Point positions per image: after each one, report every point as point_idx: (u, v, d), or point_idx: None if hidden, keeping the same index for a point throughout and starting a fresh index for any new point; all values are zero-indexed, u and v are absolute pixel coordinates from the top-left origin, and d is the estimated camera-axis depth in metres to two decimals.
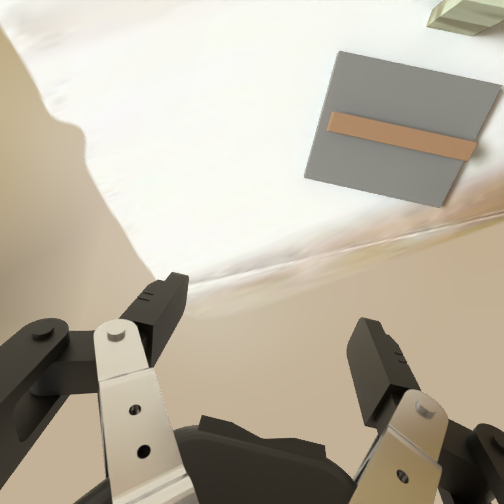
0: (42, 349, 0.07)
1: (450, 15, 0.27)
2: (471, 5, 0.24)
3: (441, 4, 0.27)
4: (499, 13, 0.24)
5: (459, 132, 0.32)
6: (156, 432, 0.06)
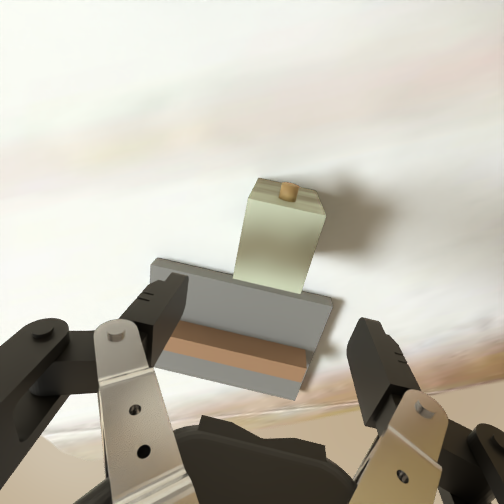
0: (42, 349, 0.07)
1: None
2: None
3: None
4: None
5: (297, 341, 0.29)
6: (156, 432, 0.06)
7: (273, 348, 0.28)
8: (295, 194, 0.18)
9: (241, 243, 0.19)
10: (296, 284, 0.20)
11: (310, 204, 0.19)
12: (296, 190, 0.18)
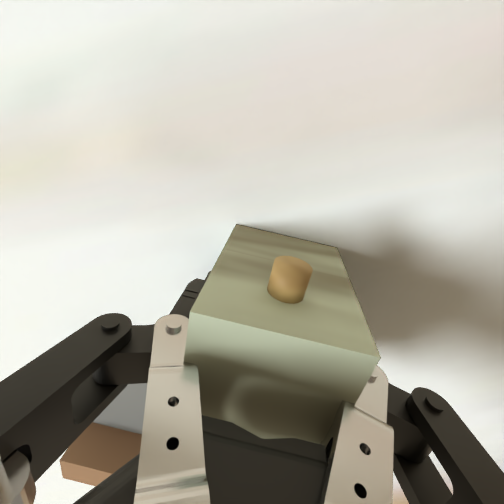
0: (113, 341, 0.08)
1: None
2: None
3: None
4: None
5: None
6: (187, 428, 0.06)
7: None
8: (303, 288, 0.08)
9: None
10: None
11: (335, 305, 0.09)
12: (306, 280, 0.08)
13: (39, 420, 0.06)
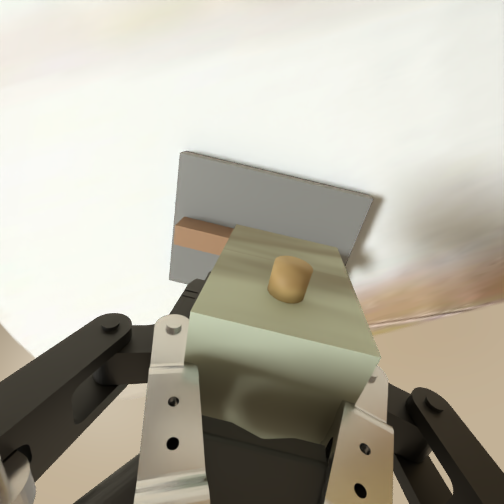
0: (113, 341, 0.08)
1: None
2: None
3: None
4: None
5: (332, 244, 0.27)
6: (187, 428, 0.06)
7: None
8: (304, 288, 0.08)
9: None
10: None
11: (336, 304, 0.09)
12: (306, 280, 0.08)
13: (39, 420, 0.06)
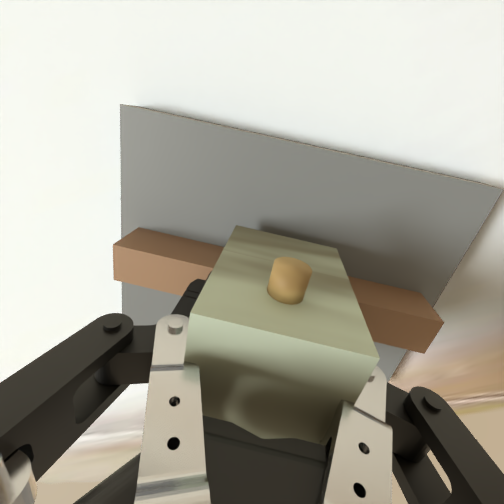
0: (115, 341, 0.08)
1: None
2: None
3: None
4: None
5: (408, 276, 0.15)
6: (188, 428, 0.06)
7: (363, 287, 0.14)
8: (303, 289, 0.08)
9: None
10: None
11: (335, 305, 0.09)
12: (305, 281, 0.08)
13: (41, 419, 0.06)
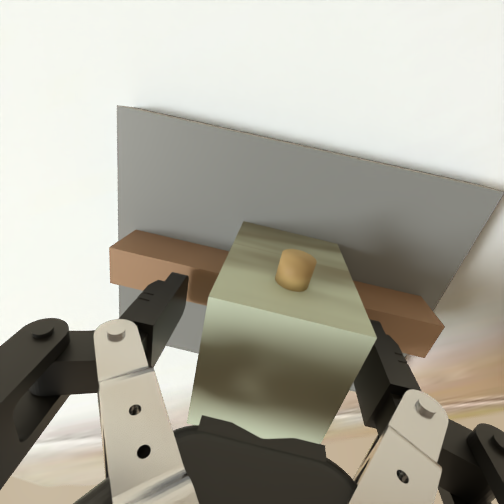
0: (42, 349, 0.07)
1: None
2: None
3: None
4: None
5: (408, 279, 0.15)
6: (156, 432, 0.06)
7: (363, 290, 0.14)
8: (308, 278, 0.09)
9: (199, 372, 0.09)
10: None
11: (337, 293, 0.10)
12: (311, 270, 0.09)
13: None
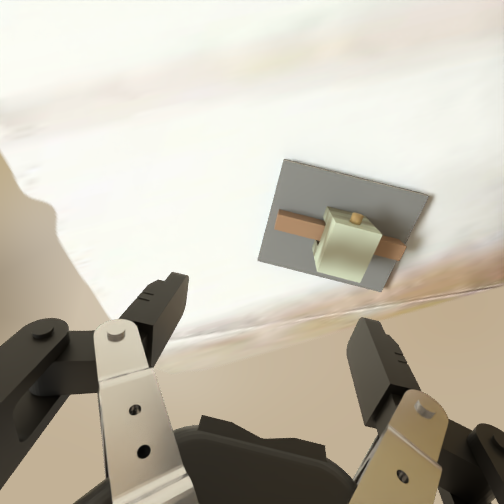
0: (42, 349, 0.07)
1: None
2: None
3: (316, 245, 0.35)
4: None
5: (393, 231, 0.35)
6: (156, 432, 0.06)
7: None
8: (361, 220, 0.30)
9: (326, 249, 0.30)
10: (358, 276, 0.31)
11: (369, 226, 0.30)
12: (362, 218, 0.30)
13: None
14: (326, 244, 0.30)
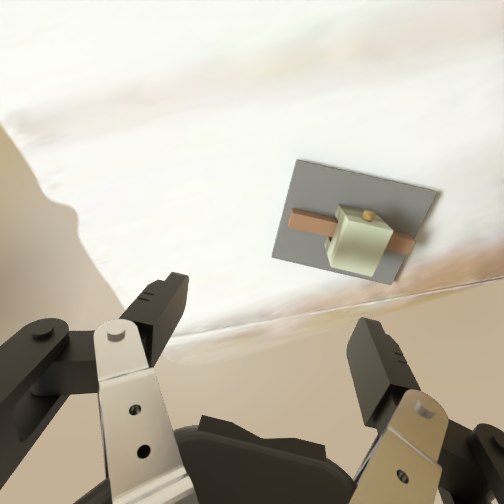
0: (42, 349, 0.07)
1: None
2: None
3: (328, 242, 0.37)
4: None
5: (403, 227, 0.37)
6: (156, 432, 0.06)
7: None
8: (372, 217, 0.32)
9: (340, 245, 0.32)
10: (370, 270, 0.32)
11: (380, 223, 0.32)
12: (373, 215, 0.31)
13: None
14: (339, 240, 0.32)
